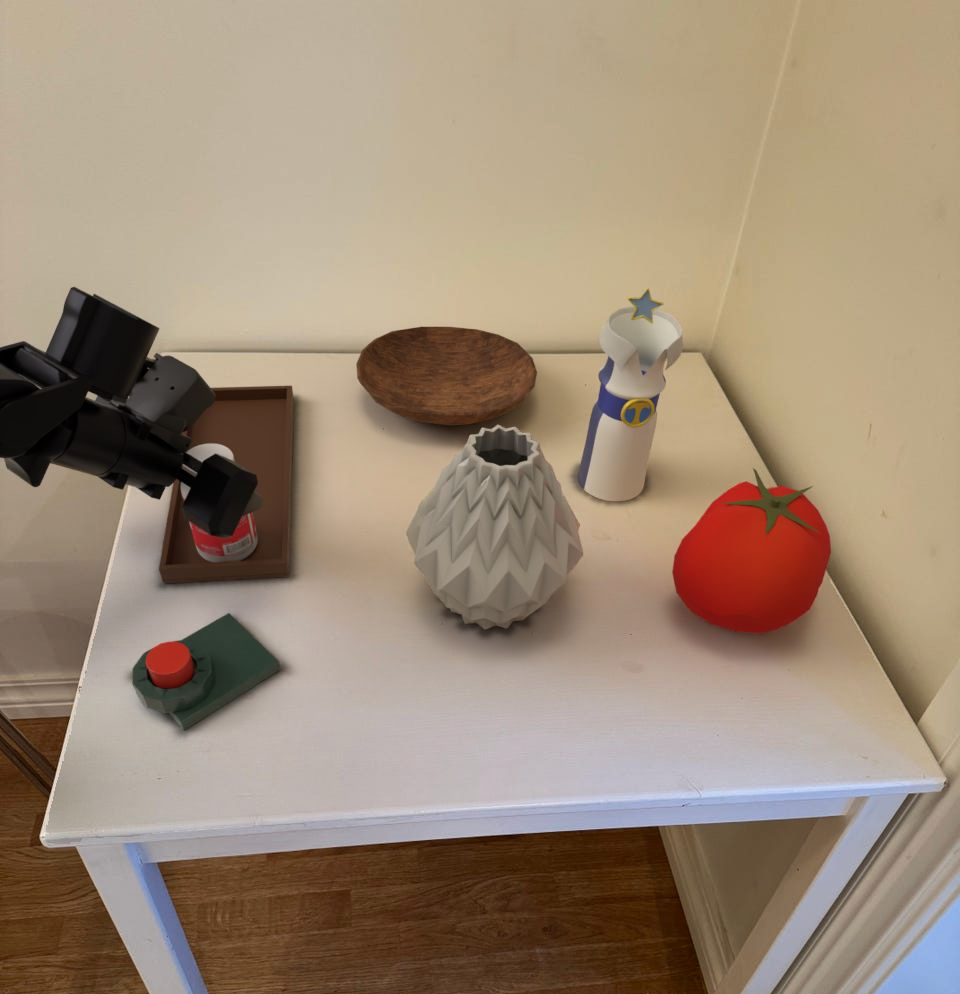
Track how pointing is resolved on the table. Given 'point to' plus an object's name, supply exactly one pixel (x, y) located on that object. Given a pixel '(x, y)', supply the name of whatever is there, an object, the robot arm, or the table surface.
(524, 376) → the bowl
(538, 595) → the vase
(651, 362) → the white toy figure
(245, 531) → the pill bottle
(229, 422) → the brown rectangular tray
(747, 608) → the tomato
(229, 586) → the table surface
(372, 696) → the table surface
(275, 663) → the block
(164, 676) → the button
